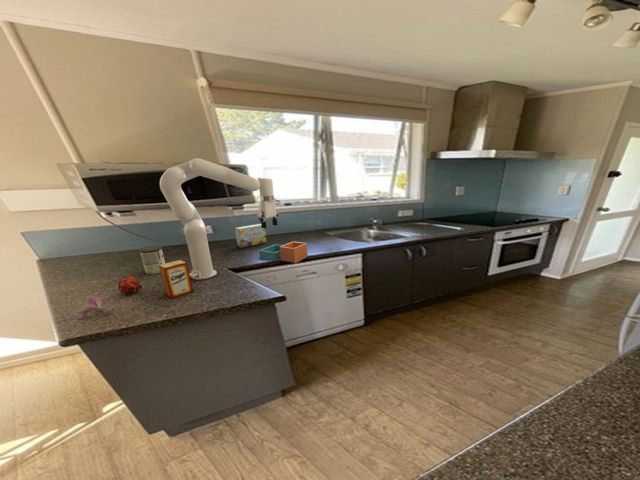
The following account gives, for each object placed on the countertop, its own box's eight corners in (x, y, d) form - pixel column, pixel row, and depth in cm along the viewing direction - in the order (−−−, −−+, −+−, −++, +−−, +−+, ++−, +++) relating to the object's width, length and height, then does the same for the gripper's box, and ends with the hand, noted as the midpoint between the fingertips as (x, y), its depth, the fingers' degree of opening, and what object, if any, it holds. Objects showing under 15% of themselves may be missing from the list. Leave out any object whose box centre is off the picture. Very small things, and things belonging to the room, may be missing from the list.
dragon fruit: (131, 290, 148) (137, 301, 141) (111, 286, 141) (116, 297, 134) (141, 276, 149) (146, 285, 142) (121, 271, 142) (126, 281, 135)
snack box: (241, 248, 215) (238, 228, 210) (237, 246, 218) (234, 227, 213) (266, 242, 231) (264, 224, 226) (263, 241, 234) (260, 223, 230)
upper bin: (295, 263, 185) (293, 248, 182) (281, 261, 189) (279, 246, 186) (307, 256, 198) (306, 243, 195) (294, 255, 201) (293, 241, 198)
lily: (118, 307, 131) (101, 291, 127) (124, 304, 123) (105, 287, 120) (88, 326, 122) (68, 309, 119) (92, 325, 115) (71, 307, 111)
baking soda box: (171, 298, 137) (163, 267, 132) (166, 294, 141) (158, 264, 136) (193, 291, 144) (186, 261, 139) (187, 288, 148) (180, 259, 143)
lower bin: (276, 260, 189) (275, 252, 188) (259, 258, 194) (258, 250, 192) (291, 253, 204) (290, 246, 202) (276, 251, 208) (275, 244, 207)
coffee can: (144, 270, 170) (137, 248, 166) (165, 266, 177) (159, 244, 173) (146, 275, 163) (140, 252, 159) (168, 271, 170) (162, 248, 166)
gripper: (272, 196, 179) (274, 223, 185) (251, 199, 164) (254, 228, 169) (281, 197, 177) (283, 224, 182) (261, 200, 161) (264, 230, 167)
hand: (269, 226), depth 176 cm, fingers open, 9 cm apart
